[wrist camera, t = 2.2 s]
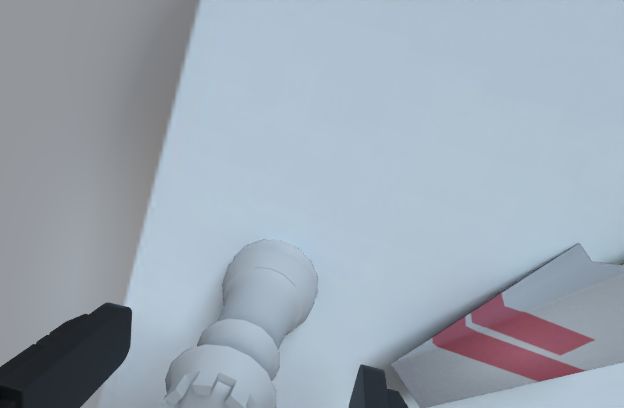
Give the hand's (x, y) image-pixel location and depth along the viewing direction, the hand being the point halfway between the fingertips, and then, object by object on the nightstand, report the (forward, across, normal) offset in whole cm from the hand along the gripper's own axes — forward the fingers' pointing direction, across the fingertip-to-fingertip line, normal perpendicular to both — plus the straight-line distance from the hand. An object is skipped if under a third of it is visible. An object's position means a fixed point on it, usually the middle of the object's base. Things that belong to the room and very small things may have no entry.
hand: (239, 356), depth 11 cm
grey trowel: (+6, -14, -4) cm, 16 cm away
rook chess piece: (+6, 0, 0) cm, 6 cm away
